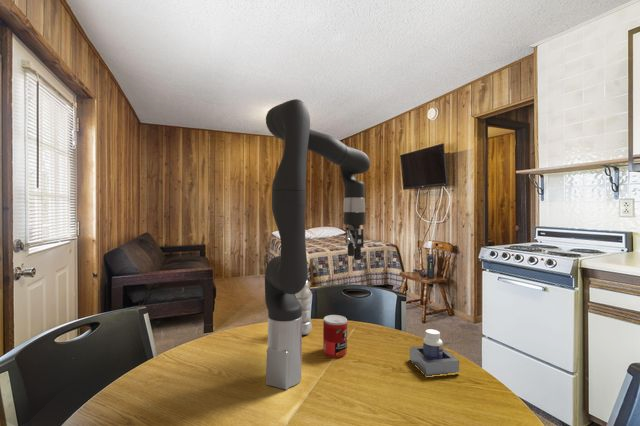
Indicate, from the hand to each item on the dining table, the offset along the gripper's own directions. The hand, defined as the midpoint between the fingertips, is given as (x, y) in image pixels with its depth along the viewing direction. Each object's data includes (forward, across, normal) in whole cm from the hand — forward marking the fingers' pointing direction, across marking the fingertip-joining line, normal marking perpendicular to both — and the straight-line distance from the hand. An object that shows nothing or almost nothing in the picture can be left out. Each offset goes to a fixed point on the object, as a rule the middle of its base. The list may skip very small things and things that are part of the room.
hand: (353, 257), depth 103 cm
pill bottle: (+30, +18, +19) cm, 40 cm away
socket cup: (+30, +18, +20) cm, 41 cm away
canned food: (+30, +5, -8) cm, 32 cm away
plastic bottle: (+30, -12, -16) cm, 36 cm away
